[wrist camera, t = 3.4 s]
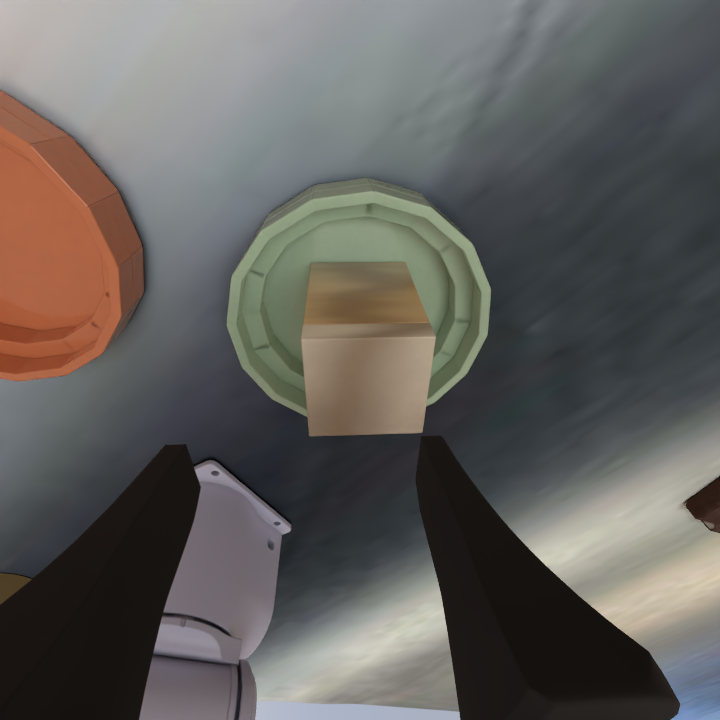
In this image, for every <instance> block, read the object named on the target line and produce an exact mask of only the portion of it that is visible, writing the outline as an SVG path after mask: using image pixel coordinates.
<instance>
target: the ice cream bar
mask: <svg viewBox="0 0 720 720" xmlns="http://www.w3.org/2000/svg"><path fill="white" fill-rule="evenodd" d="M686 508H687V509H688V510H689V511H690V513H691V514H692V515H693V516H694V517H695V519H699V520H701V521H702V522H703V523H704V524H705V526H706V527H707V528H708V529H709V530H710V531H714V532H717V533H720V478H718V479H717V480H716V481H714V482H713V483H711V484H710V485H709V486H707V487H706V488H704V489H703V490H702V491H700V492H699V493H698V494H696V495H695V496H693V497H692V498H691V499H689V500H688V502H687V503H686Z"/></svg>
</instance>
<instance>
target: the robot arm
mask: <svg viewBox="0 0 720 720" xmlns="http://www.w3.org/2000/svg"><path fill="white" fill-rule="evenodd" d="M416 486H417V493H418V500H419V507H420V512H421V516H422V520H423V524H424V528H425V532H426V536H427V540H428V544H429V547H430V551H431V555H432V559H433V563H434V567H435V571H436V574H437V578H438V582H439V587H440V591H441V596H442V601H443V607H444V613H445V619H446V625H447V631H448V637H449V644H450V650H451V657H452V663H453V670H454V677H455V684H456V691H457V698H458V705H459V712H460V719H461V720H670V719H672V718H673V717H674V716H675V715H677V714H678V711H679V707H680V703H679V701H678V699H677V697H676V696H675V694H674V692H673V690H672V688H671V686H670V685H669V683H668V681H667V679H666V678H665V676H664V674H663V673H662V671H661V669H660V668H659V667H658V665H657V664H656V662H655V661H654V659H653V658H652V656H651V654H650V653H649V651H647V650H646V649H645V648H643V647H642V646H641V645H639V644H638V643H637V642H636V641H634V640H633V639H632V638H630V637H629V636H628V635H626V634H625V633H624V632H622V631H621V630H620V629H618V628H617V627H616V626H615V625H613V624H612V623H611V622H609V621H608V620H607V619H606V618H604V617H603V616H602V615H601V614H600V613H598V612H597V611H596V610H595V609H594V608H592V607H591V606H590V605H589V604H588V603H587V602H585V601H584V600H583V599H582V598H581V597H579V596H578V595H577V594H576V593H575V592H574V591H573V590H572V589H571V588H569V587H568V586H567V585H566V584H565V583H564V582H563V581H562V580H561V579H560V578H558V577H557V576H556V575H555V574H554V573H553V572H552V571H551V570H550V569H549V568H548V567H546V566H545V565H544V564H543V563H542V562H541V561H540V560H539V559H538V558H537V557H536V556H535V555H534V554H533V553H532V552H531V551H530V550H529V549H528V547H527V546H526V545H525V544H524V543H523V542H522V541H521V540H520V539H519V538H518V537H517V536H516V535H515V534H514V533H513V531H512V530H511V529H510V528H509V527H508V526H507V525H506V523H505V522H504V521H503V520H502V519H501V518H500V516H499V515H498V514H497V513H496V512H495V510H494V509H493V508H492V507H491V506H490V504H489V503H488V502H487V500H486V499H485V498H484V497H483V495H482V494H481V493H480V491H479V490H478V489H477V487H476V486H475V485H474V483H473V482H472V481H471V479H470V478H469V476H468V475H467V474H466V472H465V471H464V469H463V468H462V466H461V465H460V463H459V462H458V461H457V459H456V457H455V456H454V454H453V453H452V451H451V450H450V448H449V446H448V445H447V443H446V442H445V440H444V438H443V437H442V436H421V443H420V450H419V457H418V465H417V472H416ZM290 531H291V524H290V523H289V522H288V521H286V520H285V519H284V518H283V517H282V516H280V515H279V514H278V513H277V512H276V511H275V510H273V509H272V508H271V507H270V506H269V505H267V504H266V503H265V502H264V501H263V500H261V499H260V498H259V497H258V496H257V495H255V494H254V493H253V492H252V491H251V490H249V489H248V488H247V487H246V486H245V485H244V484H242V483H241V482H240V481H239V480H238V479H236V478H235V477H234V476H233V475H232V474H230V473H229V472H228V471H227V470H226V469H224V468H223V467H222V466H221V465H220V464H218V463H217V462H216V461H213V460H208V461H205V462H203V463H201V464H199V465H197V466H195V467H194V466H193V463H192V460H191V457H190V454H189V452H188V449H187V446H186V444H184V445H165V446H164V447H163V448H162V449H161V450H160V452H159V453H158V454H157V455H156V456H155V457H154V458H153V459H152V460H151V462H150V463H149V464H148V465H147V466H146V467H145V468H144V470H143V471H142V472H141V473H140V474H139V475H138V476H137V477H136V479H135V480H134V481H133V482H132V483H131V484H130V485H129V486H128V487H127V488H126V490H125V491H124V492H123V493H122V494H121V495H120V496H119V497H118V498H117V499H116V500H115V501H114V502H113V504H112V505H111V506H110V507H109V508H108V509H107V510H106V511H105V512H104V513H103V514H102V515H101V516H100V517H99V518H98V519H97V520H96V521H95V522H94V523H93V524H92V525H91V526H90V527H89V528H88V529H87V530H86V531H85V532H84V533H83V534H82V535H81V536H80V537H79V538H78V539H77V540H76V541H75V542H74V543H72V544H71V545H70V546H69V547H68V548H67V549H66V550H65V551H64V552H63V553H62V554H61V555H59V556H58V557H57V558H56V559H55V560H54V561H53V562H52V563H50V564H49V565H48V566H47V567H46V568H45V569H44V570H42V571H41V572H40V573H39V574H38V575H36V576H35V577H34V578H33V579H32V580H30V581H29V582H28V583H27V584H25V585H24V586H23V587H22V588H20V589H19V590H18V591H17V592H15V593H14V594H13V595H12V596H10V597H9V598H8V599H7V600H5V601H4V602H3V603H2V604H0V720H255V715H256V701H257V692H256V682H255V678H254V676H253V674H252V671H251V667H250V665H249V663H248V661H246V660H245V659H246V658H248V657H249V656H250V655H251V654H252V653H253V652H254V651H255V649H256V648H257V647H258V645H259V644H260V642H261V641H262V639H263V637H264V635H265V633H266V631H267V629H268V626H269V624H270V621H271V617H272V614H273V608H274V600H275V591H276V582H277V573H278V565H279V556H280V547H281V538H282V535H283V534H286V533H288V532H290Z"/></svg>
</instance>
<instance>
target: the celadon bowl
mask: <svg viewBox="0 0 720 720" xmlns="http://www.w3.org/2000/svg"><path fill="white" fill-rule="evenodd" d="M318 262H406V265H407V267H408V270H409V272H410V275H411V277H412V280H413V282H414V285H415V287H416V290H417V292H418V295H419V297H420V300H421V302H422V305H423V307H424V310H425V312H426V315H427V317H428V320H429V322H430V324H431V326H432V329H433V331H434V334H435V336H436V341H435V348H434V355H433V362H432V369H431V376H430V383H429V390H428V397H427V404H426V406H428V405H430V404H433V403H434V402H436V401H437V400H438V399H439V398H440V397H441V396H443V395H444V394H445V393H446V392H447V391H448V390H449V389H450V388H452V387H453V386H454V385H455V384H456V383H457V382H458V381H459V380H461V379H462V378H463V377H464V376H465V375H466V374H467V373H468V371H469V369H470V367H471V365H472V363H473V361H474V360H475V358H476V356H477V354H478V352H479V350H480V348H481V346H482V345H483V343H484V341H485V339H486V337H487V334H488V323H489V310H490V298H491V288H490V285H489V283H488V280H487V278H486V275H485V273H484V270H483V268H482V265H481V263H480V260H479V258H478V255H477V253H476V250H475V248H474V245H473V244H472V242H471V241H470V240H469V239H468V238H467V237H466V235H465V234H464V233H463V232H462V231H461V230H460V229H459V227H458V226H457V225H456V224H455V223H454V222H453V221H451V220H450V219H449V218H448V217H447V216H446V215H445V214H444V213H442V212H441V211H440V210H439V209H438V208H437V207H436V206H435V205H433V204H432V203H431V202H430V201H429V200H428V199H427V198H426V197H424V196H423V195H422V194H420V193H419V192H416V191H412V190H409V189H406V188H402V187H399V186H396V185H392V184H389V183H385V182H382V181H379V180H375V179H372V178H361V179H354V180H347V181H340V182H333V183H325V184H318V185H314V186H312V187H310V188H309V189H307V190H305V191H304V192H302V193H301V194H299V195H298V196H296V197H294V198H293V199H291V200H290V201H288V202H286V203H285V204H283V205H282V206H280V207H279V208H277V209H275V210H274V211H272V212H271V213H270V214H269V215H268V216H267V217H266V219H265V221H264V222H263V224H262V225H261V227H260V228H259V230H258V231H257V233H256V235H255V236H254V238H253V239H252V241H251V242H250V244H249V246H248V247H247V249H246V250H245V252H244V253H243V255H242V257H241V259H240V261H239V263H238V265H237V267H236V269H235V270H234V272H233V274H232V277H231V284H230V294H229V303H228V312H227V322H226V324H227V328H228V331H229V333H230V336H231V339H232V342H233V345H234V347H235V350H236V353H237V356H238V358H239V361H240V364H241V366H242V368H243V369H244V370H245V371H246V372H247V373H248V374H249V375H250V377H251V378H252V379H253V380H254V381H255V382H256V383H257V384H258V385H259V386H260V387H261V388H262V389H263V391H264V392H265V393H266V394H267V395H268V396H269V397H270V398H272V399H273V400H275V401H277V402H278V403H280V404H282V405H284V406H286V407H288V408H290V409H292V410H294V411H296V412H298V413H300V414H302V415H304V416H306V417H307V406H306V394H305V382H304V370H303V359H302V347H301V335H302V327H303V320H304V312H305V304H306V296H307V288H308V280H309V272H310V264H311V263H318Z"/></svg>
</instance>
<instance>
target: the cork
mask: <svg viewBox="0 0 720 720" xmlns="http://www.w3.org/2000/svg"><path fill="white" fill-rule="evenodd" d="M30 580H32V579H30V578H27V577H23V576H19V575H15V574H4V573H0V604H2V603H3V602H4V601H5V600H7V599H8V598H9V597H10V596H12V595H13V594H14V593H15V592H17V591H18V590H19V589H20V588H22V587H23V586H24V585H25V584H27V583H28V582H29V581H30Z"/></svg>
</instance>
